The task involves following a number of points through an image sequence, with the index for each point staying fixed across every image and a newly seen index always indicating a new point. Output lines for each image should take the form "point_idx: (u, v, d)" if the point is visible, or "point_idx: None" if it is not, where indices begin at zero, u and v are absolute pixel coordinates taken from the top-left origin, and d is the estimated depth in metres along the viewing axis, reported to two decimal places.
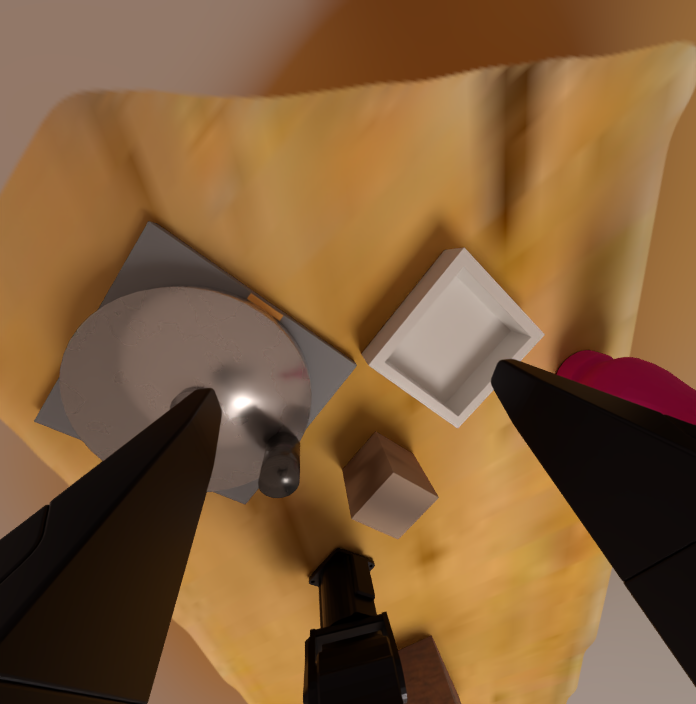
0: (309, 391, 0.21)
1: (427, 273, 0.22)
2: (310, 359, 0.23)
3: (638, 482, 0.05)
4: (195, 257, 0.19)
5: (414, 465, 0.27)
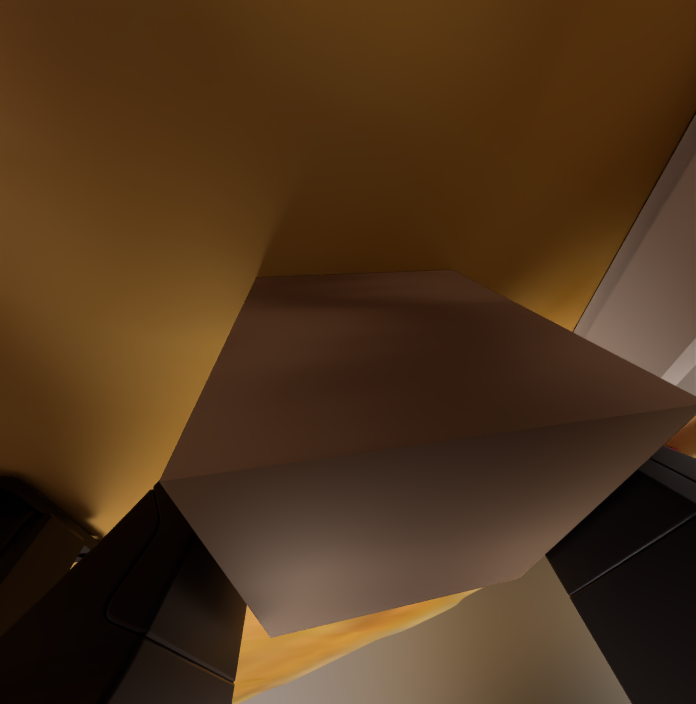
0: None
1: None
2: None
3: None
4: None
5: None
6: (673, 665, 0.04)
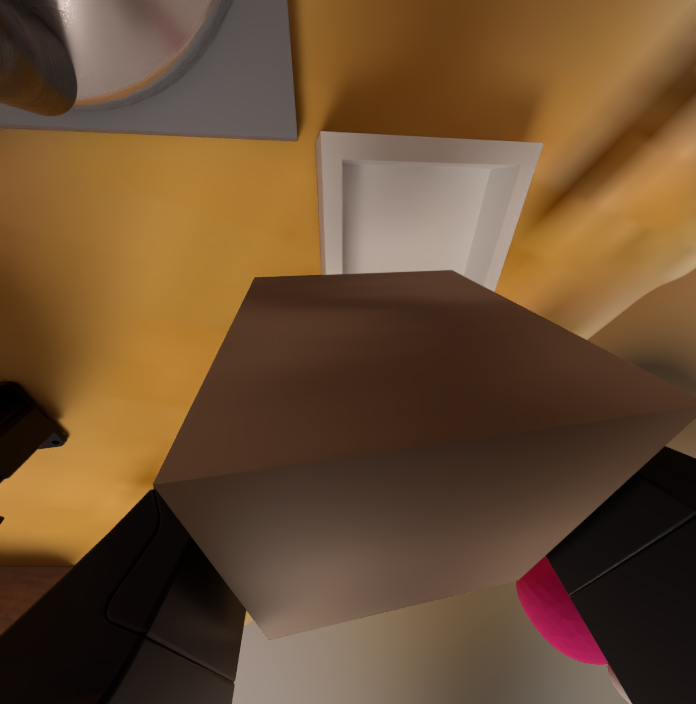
0: (186, 25, 0.09)
1: None
2: (241, 16, 0.11)
3: None
4: None
5: None
6: (673, 665, 0.04)
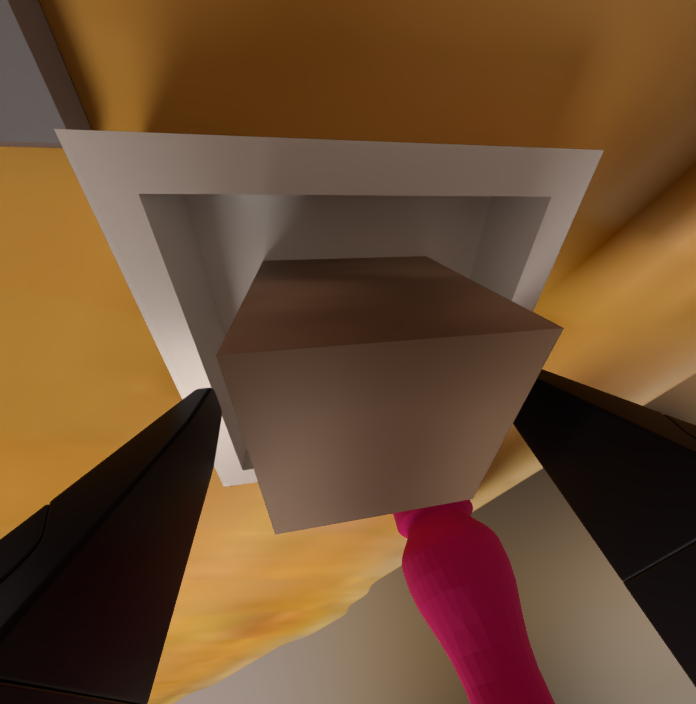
0: None
1: None
2: None
3: (637, 482, 0.05)
4: None
5: None
6: None
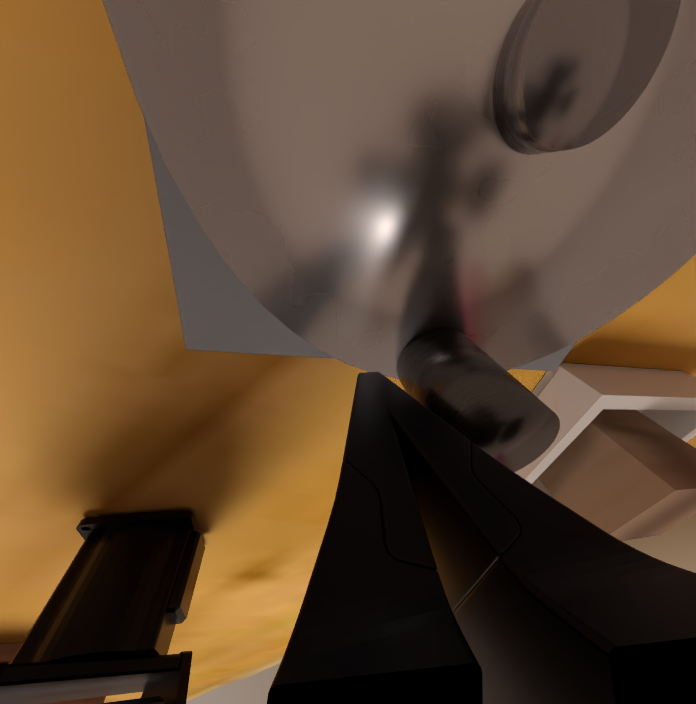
0: (566, 344, 0.10)
1: (665, 372, 0.17)
2: None
3: (432, 521, 0.04)
4: None
5: None
6: None
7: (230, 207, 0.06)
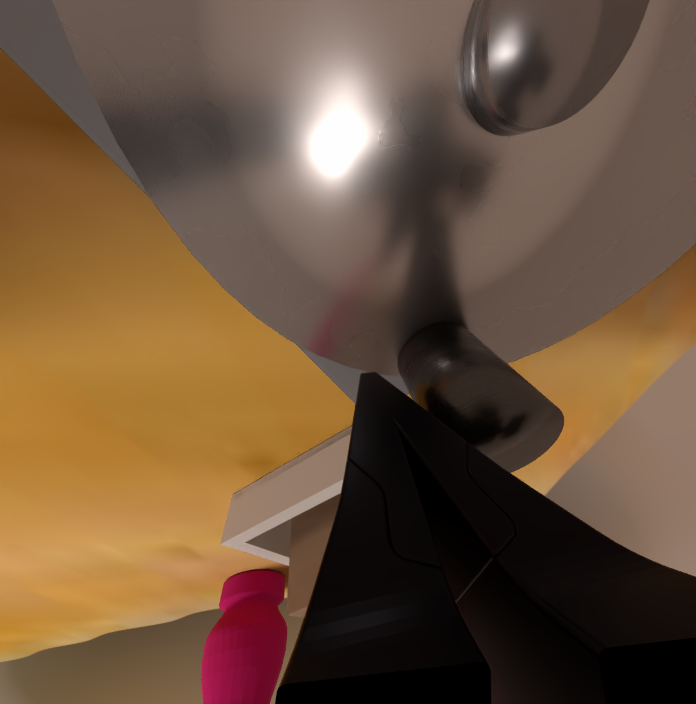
0: (580, 327, 0.10)
1: None
2: None
3: (427, 522, 0.04)
4: None
5: None
6: None
7: (214, 230, 0.06)
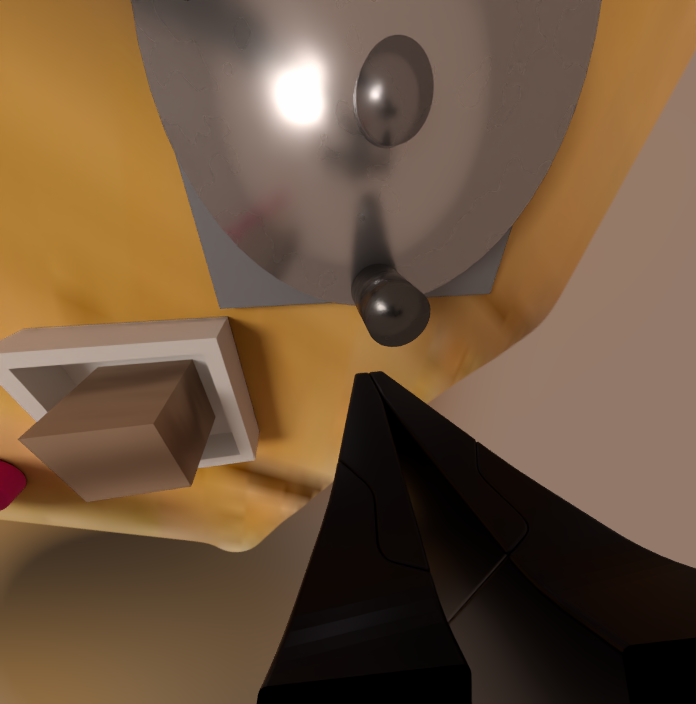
0: (470, 264, 0.15)
1: (253, 416, 0.22)
2: None
3: (437, 520, 0.05)
4: (447, 293, 0.18)
5: None
6: None
7: (232, 212, 0.12)
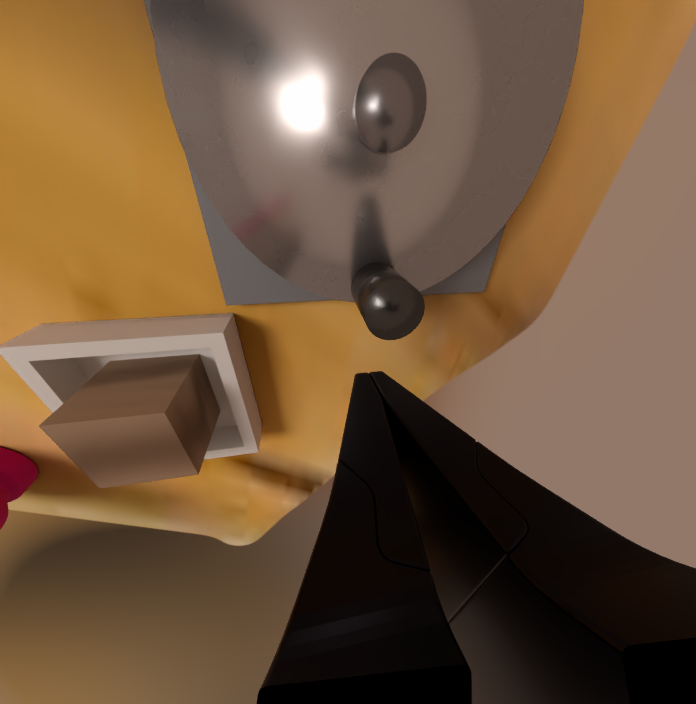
0: (464, 263, 0.16)
1: (257, 410, 0.23)
2: None
3: (437, 520, 0.05)
4: (442, 290, 0.19)
5: None
6: None
7: (240, 214, 0.12)
